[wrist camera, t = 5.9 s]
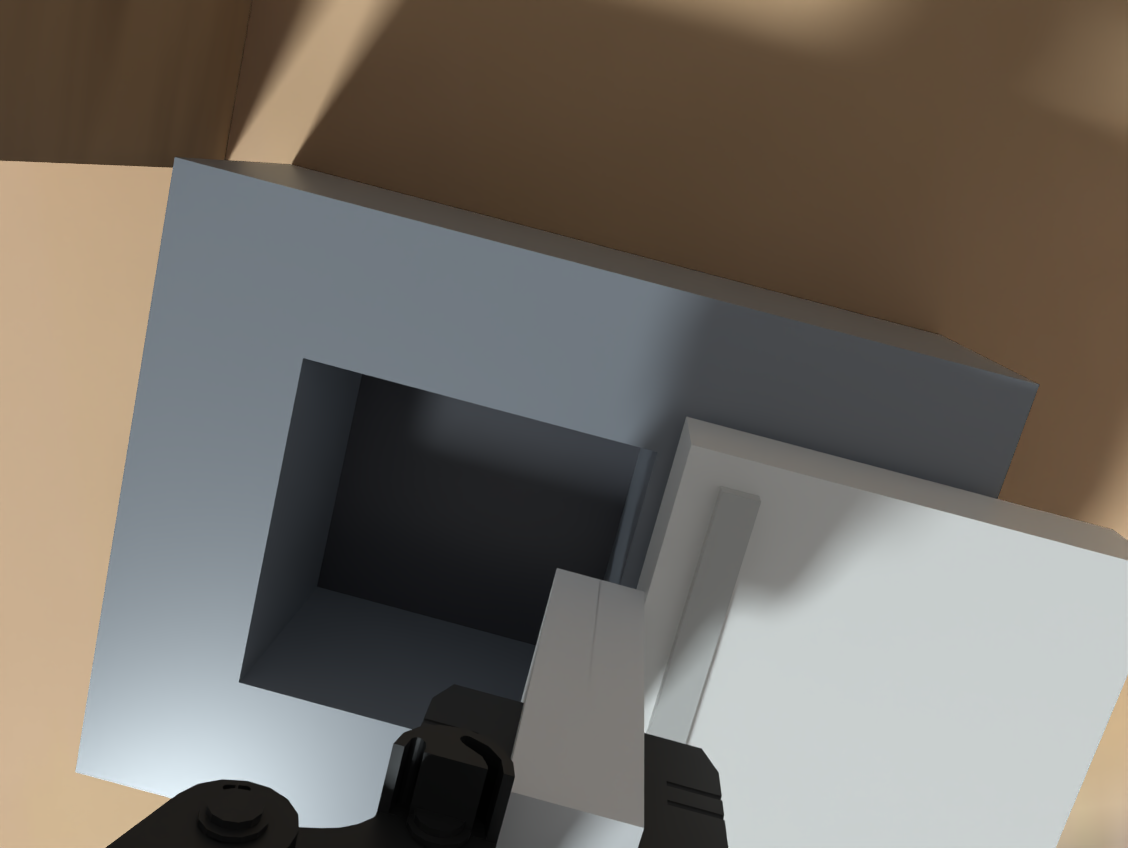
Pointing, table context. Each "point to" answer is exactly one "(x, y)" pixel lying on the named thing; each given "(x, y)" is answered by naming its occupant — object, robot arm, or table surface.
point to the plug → (119, 79)
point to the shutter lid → (876, 648)
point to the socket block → (434, 462)
